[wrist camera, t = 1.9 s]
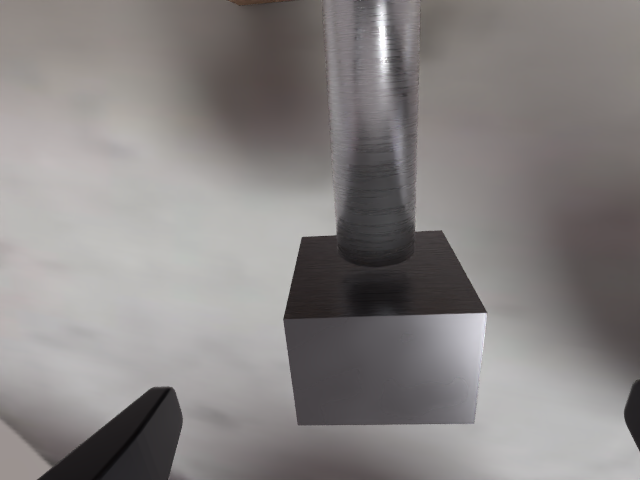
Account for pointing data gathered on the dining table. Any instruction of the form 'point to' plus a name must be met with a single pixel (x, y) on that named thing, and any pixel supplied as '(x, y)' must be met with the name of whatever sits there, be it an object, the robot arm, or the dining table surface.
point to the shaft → (379, 249)
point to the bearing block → (255, 1)
